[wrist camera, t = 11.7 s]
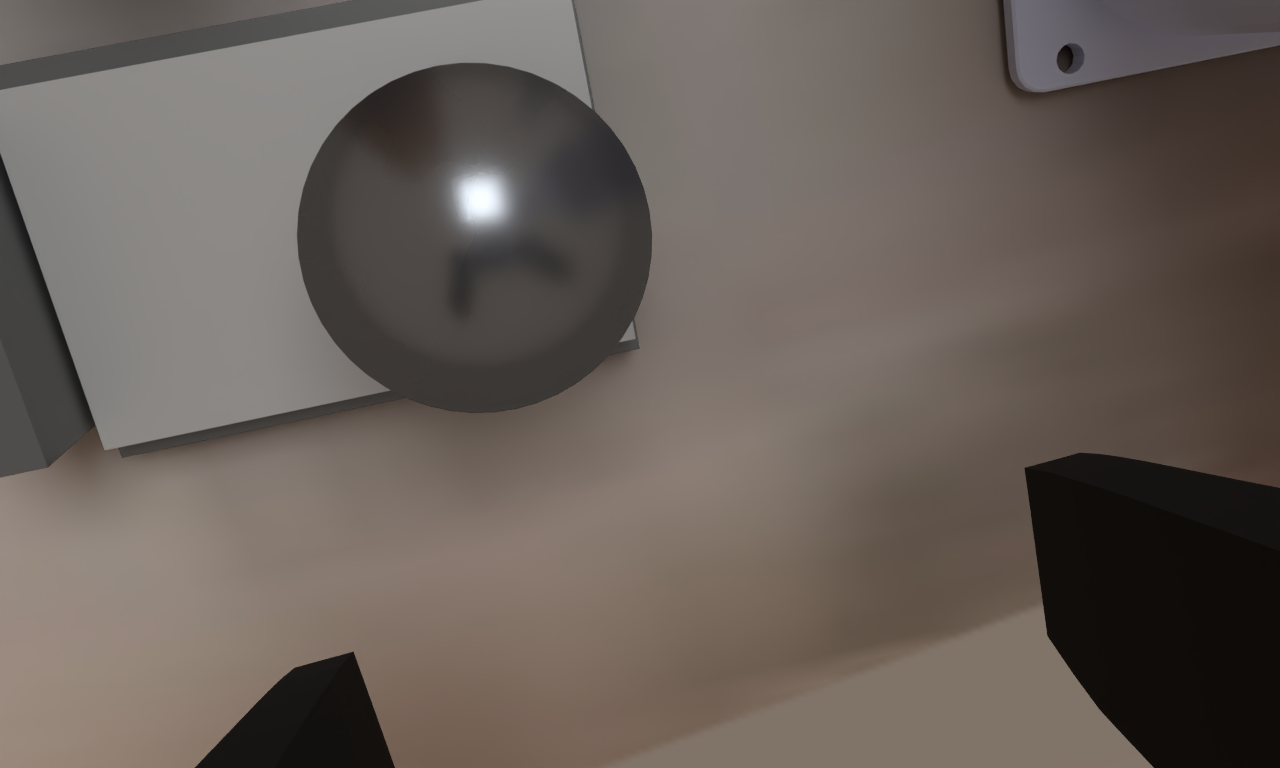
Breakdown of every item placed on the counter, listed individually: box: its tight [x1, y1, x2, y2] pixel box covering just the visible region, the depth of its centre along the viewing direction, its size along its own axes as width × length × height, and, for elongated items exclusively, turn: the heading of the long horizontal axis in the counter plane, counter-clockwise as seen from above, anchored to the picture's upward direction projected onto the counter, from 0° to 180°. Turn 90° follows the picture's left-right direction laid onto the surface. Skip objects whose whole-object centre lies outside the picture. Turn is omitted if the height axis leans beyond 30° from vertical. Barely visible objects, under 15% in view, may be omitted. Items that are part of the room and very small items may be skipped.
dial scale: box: [0, 0, 640, 477], centre depth 17 cm, size 11×7×4 cm, turn 100°
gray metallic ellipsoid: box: [297, 63, 652, 413], centre depth 15 cm, size 4×4×6 cm
